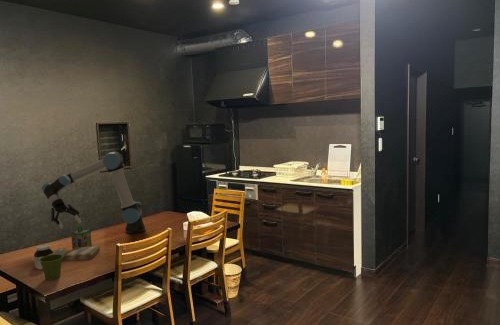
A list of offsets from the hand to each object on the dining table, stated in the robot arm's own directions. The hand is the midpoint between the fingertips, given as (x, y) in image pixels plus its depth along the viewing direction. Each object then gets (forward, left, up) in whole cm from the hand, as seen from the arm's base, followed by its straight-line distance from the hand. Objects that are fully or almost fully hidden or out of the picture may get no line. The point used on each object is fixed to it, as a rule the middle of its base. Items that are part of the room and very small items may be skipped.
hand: (71, 224), depth 261 cm
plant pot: (-10, +56, -15) cm, 59 cm away
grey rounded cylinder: (-2, +25, -15) cm, 29 cm away
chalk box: (-8, +5, -15) cm, 18 cm away
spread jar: (+3, +37, -15) cm, 40 cm away
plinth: (-14, +21, -15) cm, 30 cm away
